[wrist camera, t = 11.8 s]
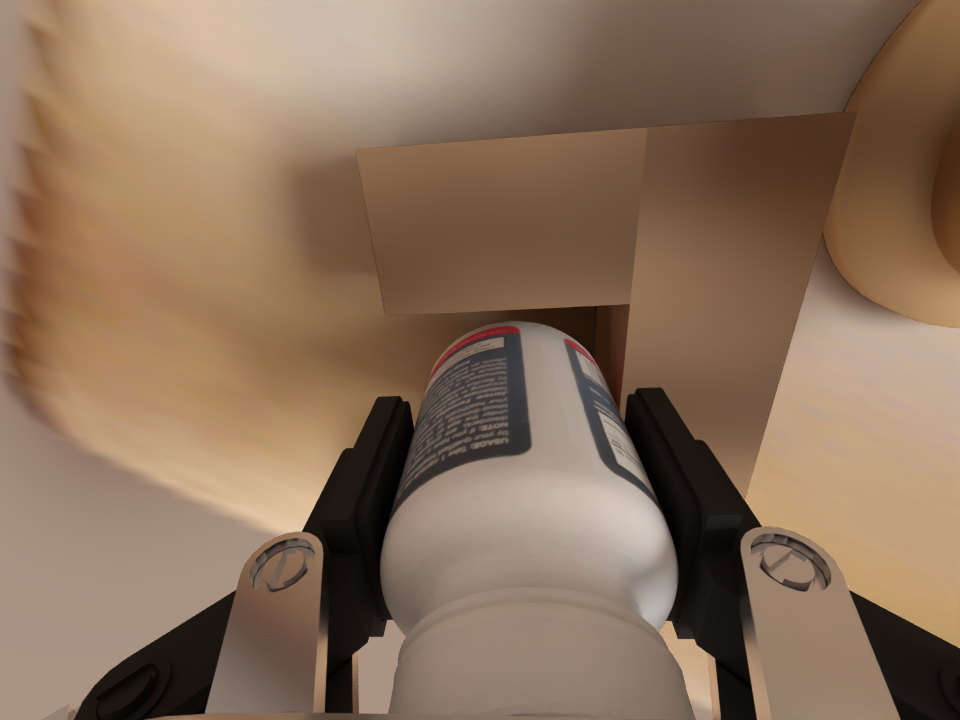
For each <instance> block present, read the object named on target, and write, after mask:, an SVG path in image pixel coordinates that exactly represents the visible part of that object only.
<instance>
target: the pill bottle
mask: <svg viewBox="0 0 960 720" xmlns="http://www.w3.org/2000/svg"><path fill="white" fill-rule="evenodd" d="M380 579H381V587H382V592H383V596H384V599H385V603H386V606H387V608H388V610H389V612H390V614H391V616H392V618H393V620H394V621H395V623H396V624H397V626H398V627H399V628H400V630H401V631H402V633H403V634H404V635H405V636H406V639H405V640H404V642H403V644H402V646H401V649H400V652H399V657H398V666H397V669H396V672H395V677H394V685H393V692H392V697H391V702H390V707H389V713H388V714H422V715H480V716H532V717H581V718H629V719H668V720H695V716H694V713H693V710H692V707H691V704H690V700H689V697H688V694H687V691H686V686H685V681H684V677H683V674H682V670H681V668H680V666H679V664H678V663H677V661H676V660H675V658H674V656H673V655H672V653H671V652H670V651H669V650H668V647H667V645H666V643H665V641H664V639H663V638H662V636H661V635H660V634H659V630H660V629H661V628H662V626H663V624H664V623H665V621H666V619H667V618H668V616H669V613H670V611H671V609H672V607H673V603H674V600H675V596H676V592H677V587H678V561H677V555H676V550H675V547H674V543H673V540H672V537H671V534H670V531H669V528H668V525H667V522H666V519H665V516H664V513H663V509H662V507H661V506H660V504H659V503H658V500H657V498H656V495H655V493H654V491H653V488H652V486H651V484H650V481H649V479H648V477H647V474H646V472H645V470H644V467H643V465H642V463H641V460H640V458H639V456H638V454H637V451H636V449H635V446H634V444H633V442H632V439H631V437H630V435H629V433H628V430H627V428H626V426H625V424H624V422H623V419H622V417H621V415H620V413H619V411H618V408H617V406H616V404H615V402H614V400H613V397H612V395H611V393H610V391H609V389H608V386H607V384H606V382H605V380H604V377H603V375H602V373H601V372H600V369H599V367H598V366H597V364H596V362H595V360H594V359H593V357H592V356H591V355H590V353H589V352H588V351H587V350H586V349H585V348H584V347H583V346H582V345H581V344H580V343H578V342H577V341H576V340H575V339H573V338H572V337H570V336H569V335H567V334H565V333H563V332H562V331H559V330H557V329H555V328H552V327H550V326H547V325H543V324H539V323H534V322H527V321H503V322H496V323H491V324H488V325H484V326H481V327H479V328H476V329H474V330H472V331H470V332H468V333H466V334H464V335H463V336H461V337H460V338H458V339H457V340H456V341H455V342H453V343H452V344H451V345H450V346H449V347H448V348H447V349H446V350H445V351H444V352H443V354H442V355H441V356H440V358H439V359H438V360H437V362H436V364H435V365H434V367H433V369H432V372H431V374H430V377H429V380H428V383H427V385H426V389H425V393H424V397H423V401H422V404H421V408H420V411H419V415H418V418H417V422H416V426H415V429H414V433H413V437H412V440H411V444H410V447H409V451H408V454H407V458H406V462H405V465H404V469H403V472H402V476H401V479H400V483H399V486H398V490H397V493H396V497H395V500H394V503H393V507H392V510H391V513H390V517H389V521H388V524H387V527H386V532H385V536H384V541H383V547H382V552H381V558H380Z"/></svg>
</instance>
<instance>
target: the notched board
mask: <svg viewBox="0 0 960 720" xmlns="http://www.w3.org/2000/svg"><path fill="white" fill-rule="evenodd" d="M857 113H858V111H852V112H839V113H826V114H813V115H800V116H787V117H774V118H761V119H748V120H735V121H721V122H708V123H695V124H682V125H669V126H656V127H643V128H630V129H617V130H604V131H591V132H577V133H564V134H551V135H538V136H525V137H512V138H499V139H486V140H473V141H460V142H446V143H433V144H420V145H407V146H394V147H381V148H368V149H355V151H356V156H357V162H358V167H359V173H360V178H361V184H362V189H363V195H364V200H365V206H366V211H367V217H368V222H369V228H370V234H371V239H372V245H373V250H374V256H375V261H376V267H377V272H378V278H379V283H380V289H381V294H382V300H383V305H384V311H385V316H399V315H419V314H439V313H460V312H480V311H500V310H521V309H541V308H561V307H581V306H597V320H596V337H595V353H594V360H595V362H596V364H597V366H598V367H599V369H600V372H601V373H602V375H603V377H604V380H605V382H606V384H607V386H608V389H609V391H610V393H611V395H612V397H613V400H614V402H615V404H616V406H617V408H618V411H619V413H620V415H621V417H622V419H623V422H624V421H625V412H626V402H627V396H628V395H629V394H634V393H635V390H636V389H637V388H653V387H661V388H662V389H663V390H664V392H665V393H666V395H667V396H668V398H669V400H670V401H671V403H672V404H673V406H674V407H675V409H676V411H677V412H678V414H679V415H680V417H681V418H682V420H683V422H684V423H685V425H686V426H687V428H688V429H689V431H690V433H691V434H692V436H693V437H694V439H695V440H698V439H700V440H703V441H704V442H705V443H706V444H707V445H708V446H709V448H710V449H711V451H712V452H713V454H714V455H715V457H716V458H717V460H718V461H719V463H720V464H721V466H722V467H723V469H724V470H725V472H726V473H727V475H728V476H729V478H730V479H731V481H732V482H733V484H734V485H735V487H736V488H737V490H738V491H739V493H740V494H741V496H742V497H743V499H744V500H745V497H746V493H747V490H748V487H749V483H750V480H751V476H752V473H753V469H754V466H755V463H756V459H757V456H758V452H759V449H760V445H761V442H762V439H763V435H764V432H765V428H766V425H767V421H768V418H769V415H770V411H771V408H772V404H773V401H774V397H775V394H776V391H777V387H778V384H779V380H780V377H781V373H782V370H783V367H784V363H785V360H786V356H787V353H788V349H789V346H790V343H791V339H792V336H793V332H794V329H795V325H796V322H797V319H798V315H799V312H800V308H801V305H802V301H803V298H804V295H805V291H806V288H807V284H808V281H809V277H810V274H811V271H812V267H813V264H814V260H815V257H816V253H817V250H818V247H819V243H820V240H821V236H822V233H823V229H824V226H825V223H826V219H827V216H828V212H829V209H830V205H831V202H832V199H833V195H834V192H835V188H836V185H837V181H838V178H839V175H840V171H841V168H842V164H843V161H844V157H845V154H846V151H847V147H848V144H849V140H850V137H851V133H852V130H853V127H854V123H855V120H856V116H857Z"/></svg>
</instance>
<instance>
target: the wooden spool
mask: <svg viewBox="0 0 960 720" xmlns="http://www.w3.org/2000/svg"><path fill="white" fill-rule="evenodd" d="M852 111H858V113H857V116H856V120H855V123H854V127H853V130H852V133H851V137H850V140H849V144H848V147H847V151H846V154H845V157H844V161H843V164H842V168H841V171H840V175H839V178H838V181H837V185H836V188H835V192H834V195H833V199H832V202H831V205H830V209H829V212H828V216H827V219H826V223H825V226H824V229H823V234H824V239H825V243H826V246H827V249H828V251H829V254H830V256H831V259H832V261H833V263H834V265H835V266H836V268H837V269H838V271H839V272H840V274H841V275H842V277H843V278H844V279H845V280H846V281H847V282H848V283H849V284H850V285H851V286H852V287H853V288H854V289H855V290H856V291H857V292H859V293H860V294H862V295H863V296H864V297H866V298H867V299H869V300H870V301H873V302H875V303H877V304H879V305H881V306H883V307H885V308H888V309H890V310H892V311H894V312H897V313H899V314H901V315H904V316H906V317H908V318H910V319H913V320H916V321H920V322H923V323H927V324H930V325H936V326H943V327H951V328H960V0H922V1H921V2H920V3H919V4H918V5H917V6H916V7H915V8H914V9H913V10H912V11H911V12H910V14H909V15H908V16H907V17H906V18H905V20H904V21H903V22H902V23H901V24H900V26H899V27H898V28H897V29H896V30H895V32H894V33H893V34H892V35H891V36H890V38H889V39H888V40H887V41H886V43H885V44H884V46H883V47H882V48H881V50H880V51H879V53H878V54H877V56H876V57H875V58H874V60H873V61H872V63H871V64H870V66H869V67H868V68H867V70H866V72H865V73H864V75H863V77H862V79H861V80H860V82H859V84H858V86H857V87H856V89H855V91H854V93H853V94H852V96H851V98H850V100H849V102H848V104H847V106H846V108H845V111H844V112H852Z"/></svg>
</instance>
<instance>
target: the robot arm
mask: <svg viewBox="0 0 960 720" xmlns="http://www.w3.org/2000/svg"><path fill="white" fill-rule="evenodd" d="M624 424H625V426H626V428H627V430H628V433H629V435H630V437H631V439H632V442H633V444H634V446H635V449H636V451H637V454H638V456H639V458H640V460H641V463H642V465H643V467H644V470H645V472H646V474H647V477H648V479H649V481H650V484H651V486H652V488H653V491H654V493H655V495H656V498H657V500H658V503H659V504H660V506H661V507H662V509H663V513H664V516H665V519H666V522H667V525H668V528H669V531H670V534H671V537H672V540H673V543H674V547H675V550H676V555H677V561H678V587H677V592H676V596H675V600H674V603H673V607H672V609H671V611H670V613H669V616H668V618H667V619H666V621H672V623H673V626H674V629H675V632H676V635H677V638H678V639H695V641H696V644H697V645H698V646H699V647H700V648H702V649H703V650H704V651H706V652H707V653H708V664H709V676H710V687H711V699H712V711H713V720H960V648H958V647H956V646H954V645H952V644H950V643H948V642H946V641H945V640H943V639H941V638H939V637H937V636H935V635H933V634H931V633H929V632H928V631H926V630H924V629H922V628H920V627H918V626H916V625H914V624H912V623H910V622H909V621H907V620H905V619H903V618H901V617H899V616H897V615H895V614H893V613H892V612H890V611H888V610H886V609H884V608H882V607H880V606H878V605H876V604H875V603H873V602H871V601H869V600H867V599H865V598H863V597H861V596H859V595H858V594H856V593H854V592H852V591H850V590H848V587H847V585H846V582H845V580H844V577H843V575H842V572H841V571H840V569H839V567H838V566H837V564H836V562H835V561H834V559H833V558H832V557H831V556H830V555H829V554H828V553H827V552H826V551H825V550H824V549H822V548H821V547H820V546H818V545H817V544H815V543H814V542H813V541H811V540H810V539H808V538H806V537H804V536H801V535H799V534H797V533H795V532H792V531H789V530H786V529H782V528H777V527H767V526H765V527H762V526H761V524H760V523H759V521H758V520H757V518H756V517H755V515H754V514H753V512H752V511H751V509H750V508H749V506H748V505H747V503H746V502H745V500H744V499H743V497H742V496H741V494H740V493H739V491H738V490H737V488H736V487H735V485H734V484H733V482H732V481H731V479H730V478H729V476H728V475H727V473H726V472H725V470H724V469H723V467H722V466H721V464H720V463H719V461H718V460H717V458H716V457H715V455H714V454H713V452H712V451H711V449H710V448H709V446H708V445H707V444H706V443H705V442H704V441H703V440H700V439H698V440H695V439H694V437H693V436H692V434H691V433H690V431H689V429H688V428H687V426H686V425H685V423H684V422H683V420H682V418H681V417H680V415H679V414H678V412H677V411H676V409H675V407H674V406H673V404H672V403H671V401H670V400H669V398H668V396H667V395H666V393H665V392H664V390H663V389H662V388H661V387H653V388H637V389H636V390H635V393H634V394H629V395H628V396H627V402H626V412H625V421H624ZM413 433H414V426H413V420H412V414H411V408H410V404H409V402H408V401H405V402H403V401H402V398H401V397H400V396H387V397H378V398H377V399H376V401H375V403H374V406H373V408H372V410H371V412H370V414H369V416H368V418H367V420H366V422H365V424H364V427H363V429H362V431H361V433H360V435H359V437H358V439H357V441H356V443H355V445H354V448H347V449H345V450H344V451H343V452H342V454H341V455H340V457H339V459H338V461H337V463H336V465H335V467H334V469H333V471H332V473H331V475H330V477H329V479H328V481H327V483H326V485H325V487H324V489H323V491H322V493H321V495H320V497H319V499H318V501H317V503H316V505H315V507H314V509H313V511H312V513H311V515H310V517H309V519H308V521H307V523H306V525H305V526H304V528H303V530H302V532H292V533H286V534H284V535H281V536H278V537H275V538H274V539H272V540H270V541H269V542H267V543H265V544H264V545H262V546H261V547H260V548H259V549H258V550H256V551H255V552H254V553H253V554H252V555H251V557H250V558H249V559H248V561H247V562H246V563H245V565H244V568H243V570H242V572H241V575H240V578H239V582H238V586H237V590H235V591H234V592H232V593H231V594H229V595H227V596H226V597H224V598H222V599H221V600H219V601H218V602H216V603H215V604H213V605H211V606H210V607H208V608H206V609H205V610H203V611H202V612H200V613H198V614H197V615H195V616H194V617H192V618H190V619H189V620H187V621H186V622H184V623H183V624H181V625H179V626H178V627H176V628H174V629H173V630H171V631H170V632H168V633H166V634H165V635H163V636H162V637H160V638H159V639H157V640H155V641H154V642H152V643H150V644H149V645H147V646H146V647H144V648H142V649H141V650H139V651H138V652H136V653H134V654H133V655H131V656H130V657H128V658H127V659H125V660H124V661H122V662H121V663H120V664H118V665H117V666H116V667H114V668H113V669H111V670H110V671H109V672H108V673H107V674H106V675H105V676H104V677H103V678H102V679H101V680H100V681H99V682H98V683H97V684H96V685H95V686H94V687H93V688H92V690H91V691H90V692H89V694H88V695H87V696H86V698H85V699H84V701H83V702H82V704H81V706H79V707H77V708H76V709H73V708H72V707H71V706H70V705H69V704H68V705H66V706H65V707H63V708H61V709H60V710H58V711H56V712H54V713H53V714H51V715H49V716H48V717H46V718H44V719H42V720H668V719H629V718H581V717H532V716H480V715H422V714H359V698H358V697H359V695H358V650H359V649H360V648H361V647H362V646H364V645H365V644H366V643H367V642H368V639H369V637H383V635H384V631H385V626H386V622H387V620H393V618H392V616H391V614H390V612H389V610H388V608H387V606H386V603H385V599H384V596H383V592H382V587H381V579H380V558H381V552H382V547H383V541H384V536H385V532H386V527H387V524H388V521H389V517H390V513H391V510H392V507H393V503H394V500H395V497H396V493H397V490H398V486H399V483H400V479H401V476H402V472H403V469H404V465H405V462H406V458H407V454H408V451H409V447H410V444H411V440H412V437H413Z"/></svg>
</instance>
